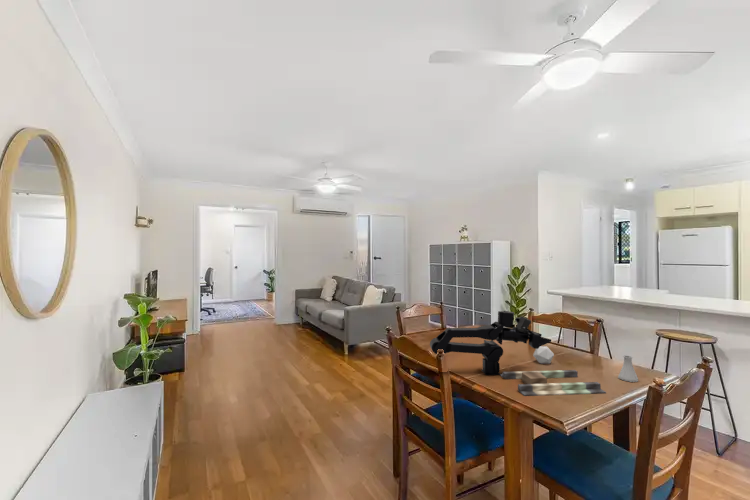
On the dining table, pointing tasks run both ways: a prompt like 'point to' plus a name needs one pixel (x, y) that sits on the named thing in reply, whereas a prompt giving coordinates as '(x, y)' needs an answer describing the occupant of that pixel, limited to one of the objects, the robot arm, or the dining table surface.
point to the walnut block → (533, 378)
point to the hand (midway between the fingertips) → (546, 337)
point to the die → (543, 355)
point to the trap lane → (554, 384)
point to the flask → (628, 370)
